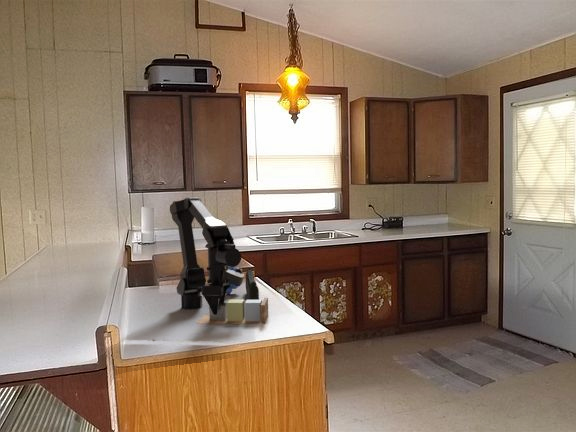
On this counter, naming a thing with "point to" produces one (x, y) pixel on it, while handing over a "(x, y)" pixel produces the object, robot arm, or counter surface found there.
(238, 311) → the pale yellow block
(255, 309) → the pale blue block
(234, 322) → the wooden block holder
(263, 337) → the counter surface
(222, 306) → the grey cube-like block
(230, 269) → the grapes
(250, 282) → the magazine
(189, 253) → the robot arm
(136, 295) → the counter surface
